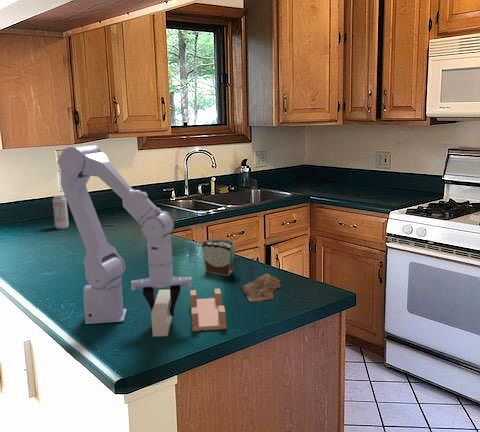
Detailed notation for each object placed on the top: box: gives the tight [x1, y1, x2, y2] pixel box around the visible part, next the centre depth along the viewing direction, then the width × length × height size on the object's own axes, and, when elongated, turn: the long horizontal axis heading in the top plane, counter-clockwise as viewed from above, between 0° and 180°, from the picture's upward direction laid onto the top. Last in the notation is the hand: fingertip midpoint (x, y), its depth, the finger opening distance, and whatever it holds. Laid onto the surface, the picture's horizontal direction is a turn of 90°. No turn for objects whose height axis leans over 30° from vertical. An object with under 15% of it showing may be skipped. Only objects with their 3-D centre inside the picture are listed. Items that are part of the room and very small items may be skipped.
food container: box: [200, 238, 236, 277], centre depth 172 cm, size 12×6×10 cm, turn 56°
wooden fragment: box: [240, 273, 282, 304], centre depth 156 cm, size 26×11×1 cm, turn 165°
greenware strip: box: [150, 288, 173, 337], centre depth 131 cm, size 4×16×6 cm, turn 2°
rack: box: [189, 288, 227, 332], centre depth 135 cm, size 8×19×4 cm, turn 6°
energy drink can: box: [52, 194, 70, 230], centre depth 244 cm, size 6×6×15 cm
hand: (163, 315), depth 131 cm, fingers closed on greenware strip, 4 cm apart
